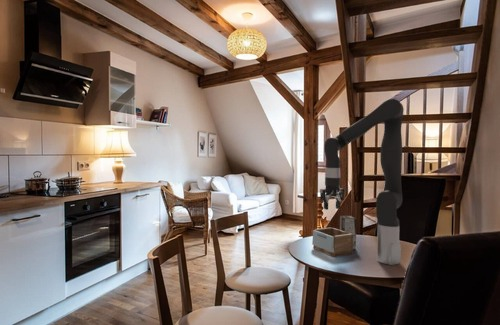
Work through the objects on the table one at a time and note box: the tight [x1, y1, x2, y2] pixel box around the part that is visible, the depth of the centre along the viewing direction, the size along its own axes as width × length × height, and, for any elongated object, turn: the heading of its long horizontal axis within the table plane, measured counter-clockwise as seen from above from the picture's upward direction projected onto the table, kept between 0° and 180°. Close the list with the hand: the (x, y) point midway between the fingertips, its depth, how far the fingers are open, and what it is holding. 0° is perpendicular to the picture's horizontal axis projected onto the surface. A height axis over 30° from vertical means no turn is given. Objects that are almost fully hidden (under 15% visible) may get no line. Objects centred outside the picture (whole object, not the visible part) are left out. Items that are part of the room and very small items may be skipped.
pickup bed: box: [313, 226, 354, 258], centre depth 162 cm, size 16×12×10 cm
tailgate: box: [311, 229, 334, 253], centre depth 159 cm, size 15×2×8 cm, turn 26°
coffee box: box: [339, 215, 357, 250], centre depth 171 cm, size 9×6×16 cm
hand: (332, 209), depth 161 cm, fingers open, 7 cm apart
